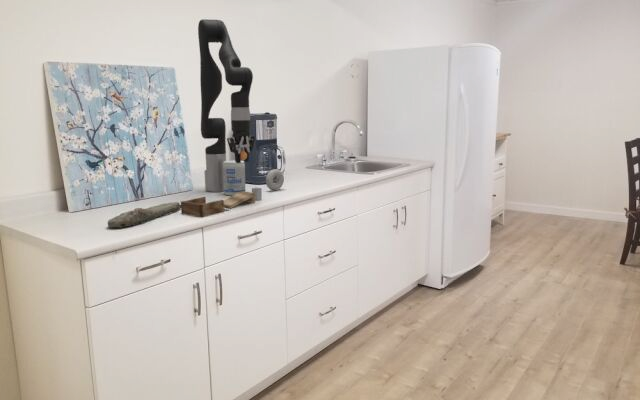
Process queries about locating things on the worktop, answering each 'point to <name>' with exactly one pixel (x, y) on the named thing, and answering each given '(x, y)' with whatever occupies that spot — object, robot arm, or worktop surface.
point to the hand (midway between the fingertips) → (242, 162)
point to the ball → (243, 155)
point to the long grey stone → (143, 215)
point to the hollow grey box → (257, 193)
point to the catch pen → (201, 207)
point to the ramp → (239, 199)
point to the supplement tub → (233, 177)
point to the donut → (278, 183)
